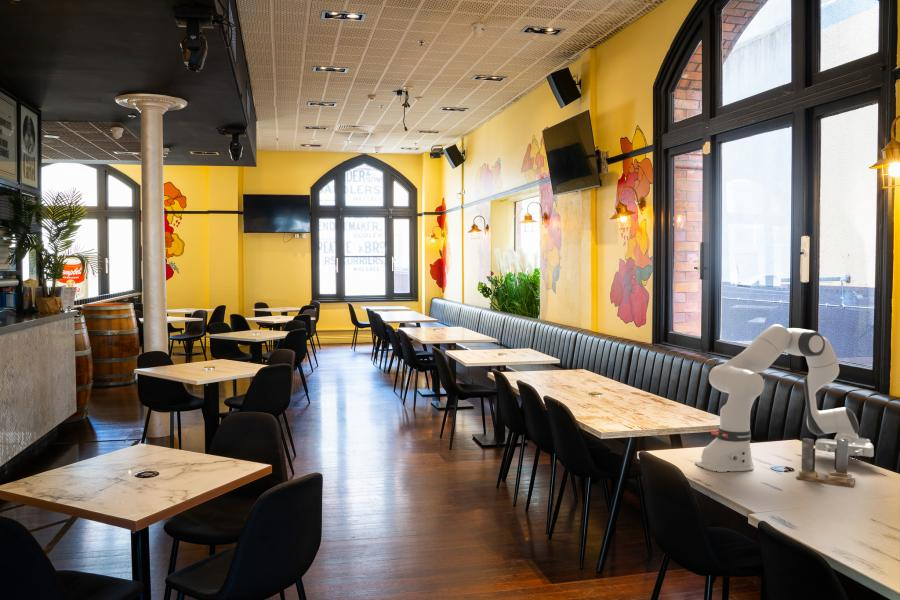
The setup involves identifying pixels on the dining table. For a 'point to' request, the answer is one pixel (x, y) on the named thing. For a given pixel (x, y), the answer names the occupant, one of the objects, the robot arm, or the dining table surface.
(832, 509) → the dining table surface
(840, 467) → the grey tall block
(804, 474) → the twin post stand
